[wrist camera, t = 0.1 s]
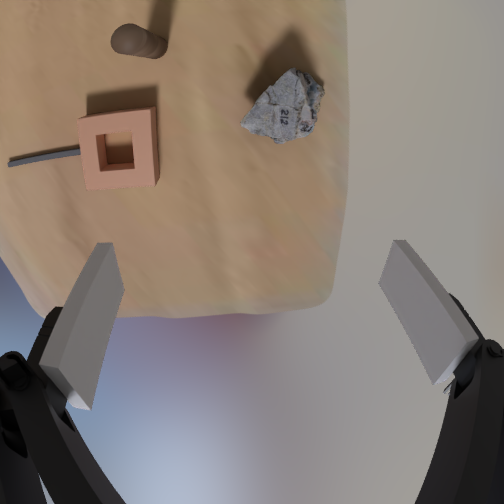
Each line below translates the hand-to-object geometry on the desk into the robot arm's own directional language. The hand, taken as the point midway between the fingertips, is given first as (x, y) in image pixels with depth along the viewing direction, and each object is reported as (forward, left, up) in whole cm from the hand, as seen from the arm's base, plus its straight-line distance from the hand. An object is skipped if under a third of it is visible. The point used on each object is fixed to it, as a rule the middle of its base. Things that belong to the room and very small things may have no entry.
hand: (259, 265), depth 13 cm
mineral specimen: (-4, +6, -28) cm, 29 cm away
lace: (+1, -28, -28) cm, 40 cm away
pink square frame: (+1, -15, -28) cm, 32 cm away
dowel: (-12, -10, -28) cm, 32 cm away
